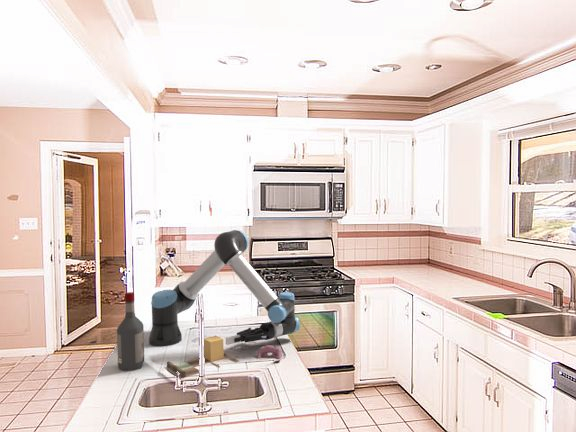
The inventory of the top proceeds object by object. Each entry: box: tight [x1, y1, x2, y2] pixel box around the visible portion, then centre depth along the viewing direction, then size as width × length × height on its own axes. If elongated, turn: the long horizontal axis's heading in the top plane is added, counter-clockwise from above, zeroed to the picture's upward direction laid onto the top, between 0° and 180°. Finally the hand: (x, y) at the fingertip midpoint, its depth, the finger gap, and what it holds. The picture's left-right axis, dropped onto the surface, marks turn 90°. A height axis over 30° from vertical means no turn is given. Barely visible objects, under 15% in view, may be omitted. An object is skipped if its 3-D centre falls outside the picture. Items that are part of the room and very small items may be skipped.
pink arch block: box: [257, 344, 282, 363], centre depth 185 cm, size 10×5×7 cm, turn 84°
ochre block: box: [203, 335, 225, 362], centre depth 184 cm, size 6×6×8 cm
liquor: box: [116, 291, 145, 372], centre depth 179 cm, size 9×9×30 cm
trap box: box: [166, 353, 240, 379], centre depth 177 cm, size 14×25×4 cm, turn 130°
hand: (226, 341), depth 188 cm, fingers closed
